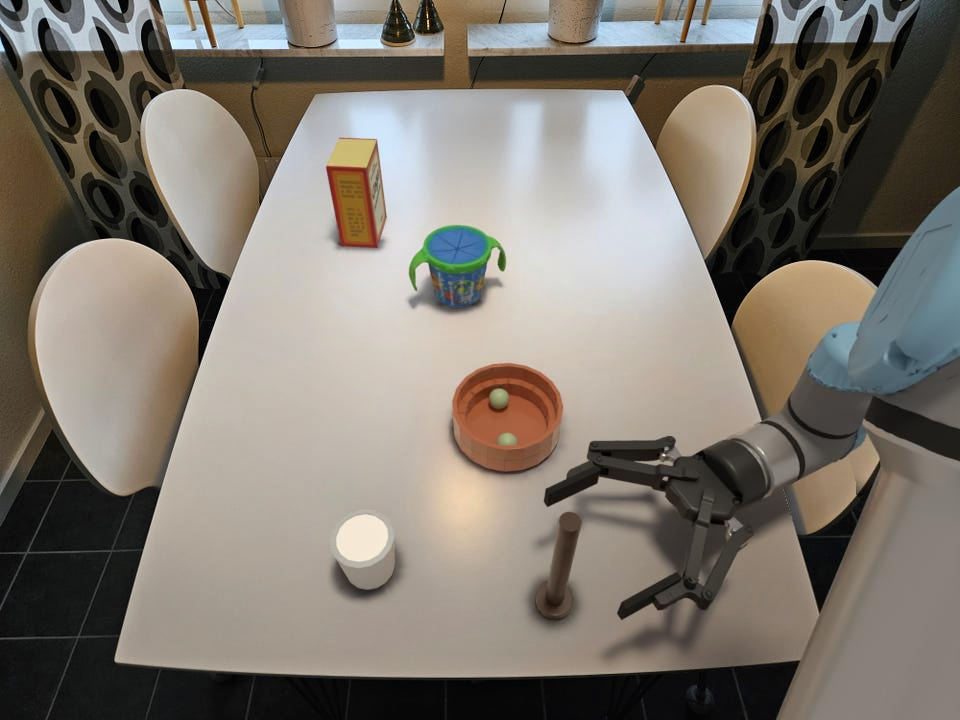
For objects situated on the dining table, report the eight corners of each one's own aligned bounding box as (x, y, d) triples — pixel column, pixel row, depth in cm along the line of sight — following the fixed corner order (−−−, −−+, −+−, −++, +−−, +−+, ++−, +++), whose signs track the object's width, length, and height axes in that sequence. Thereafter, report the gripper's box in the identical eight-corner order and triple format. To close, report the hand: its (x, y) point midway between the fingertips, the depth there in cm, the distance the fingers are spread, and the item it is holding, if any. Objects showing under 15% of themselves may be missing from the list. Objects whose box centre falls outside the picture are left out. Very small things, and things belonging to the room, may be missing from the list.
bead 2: (511, 462, 83) (511, 449, 81) (492, 453, 84) (492, 440, 82) (521, 446, 85) (522, 434, 83) (502, 437, 86) (503, 425, 84)
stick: (562, 626, 70) (581, 549, 56) (529, 608, 71) (540, 528, 58) (577, 595, 72) (599, 514, 59) (545, 577, 73) (560, 494, 60)
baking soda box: (352, 215, 121) (338, 135, 109) (386, 216, 121) (376, 137, 109) (341, 246, 115) (325, 165, 103) (377, 247, 114) (365, 166, 103)
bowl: (528, 491, 81) (530, 467, 77) (433, 444, 86) (431, 419, 82) (576, 414, 89) (580, 388, 85) (487, 375, 94) (487, 349, 90)
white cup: (375, 527, 77) (367, 497, 72) (412, 566, 74) (407, 537, 69) (328, 565, 74) (316, 536, 69) (365, 608, 71) (355, 580, 66)
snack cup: (496, 267, 111) (498, 217, 103) (513, 308, 104) (515, 257, 96) (406, 281, 108) (401, 231, 101) (417, 323, 101) (412, 273, 94)
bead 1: (502, 415, 88) (503, 403, 86) (484, 407, 89) (485, 394, 87) (512, 402, 90) (513, 389, 88) (495, 394, 91) (495, 381, 89)
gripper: (816, 580, 67) (650, 681, 60) (664, 411, 82) (518, 476, 75) (847, 546, 61) (668, 653, 55) (678, 371, 76) (521, 438, 70)
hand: (581, 551), depth 65 cm, fingers open, 13 cm apart
